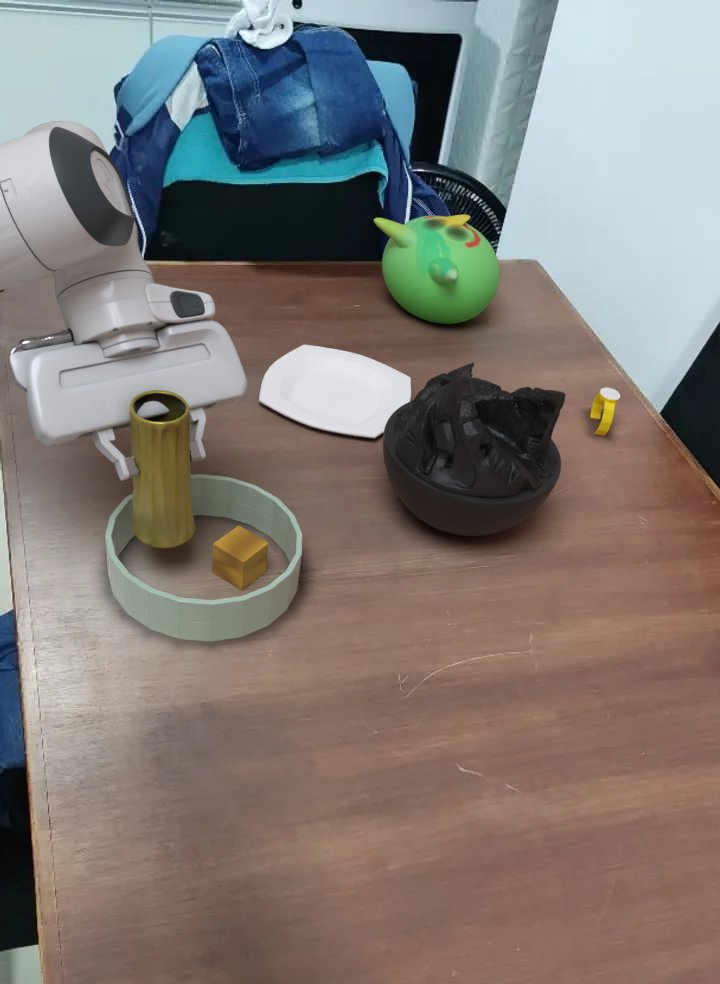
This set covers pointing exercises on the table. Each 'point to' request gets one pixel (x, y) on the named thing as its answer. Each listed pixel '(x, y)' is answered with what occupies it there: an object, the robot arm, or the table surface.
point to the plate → (335, 390)
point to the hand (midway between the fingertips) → (164, 469)
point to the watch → (609, 400)
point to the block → (240, 557)
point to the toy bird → (439, 267)
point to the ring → (220, 614)
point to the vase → (162, 471)
